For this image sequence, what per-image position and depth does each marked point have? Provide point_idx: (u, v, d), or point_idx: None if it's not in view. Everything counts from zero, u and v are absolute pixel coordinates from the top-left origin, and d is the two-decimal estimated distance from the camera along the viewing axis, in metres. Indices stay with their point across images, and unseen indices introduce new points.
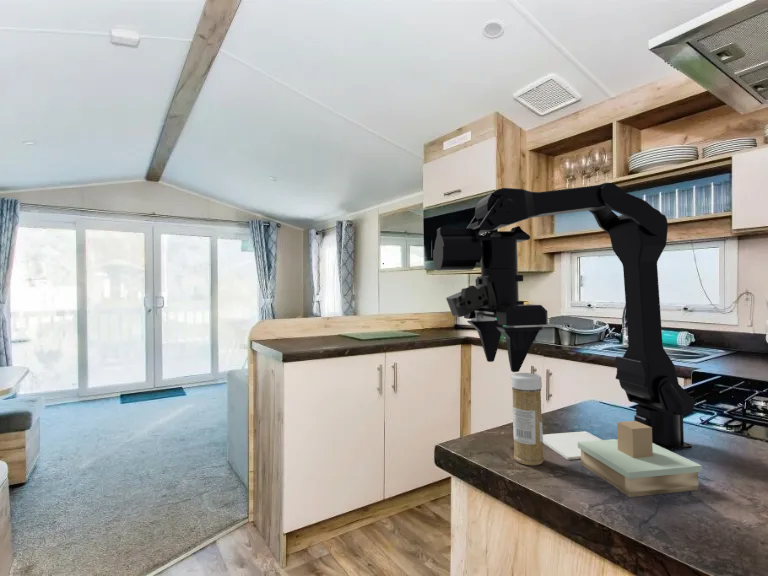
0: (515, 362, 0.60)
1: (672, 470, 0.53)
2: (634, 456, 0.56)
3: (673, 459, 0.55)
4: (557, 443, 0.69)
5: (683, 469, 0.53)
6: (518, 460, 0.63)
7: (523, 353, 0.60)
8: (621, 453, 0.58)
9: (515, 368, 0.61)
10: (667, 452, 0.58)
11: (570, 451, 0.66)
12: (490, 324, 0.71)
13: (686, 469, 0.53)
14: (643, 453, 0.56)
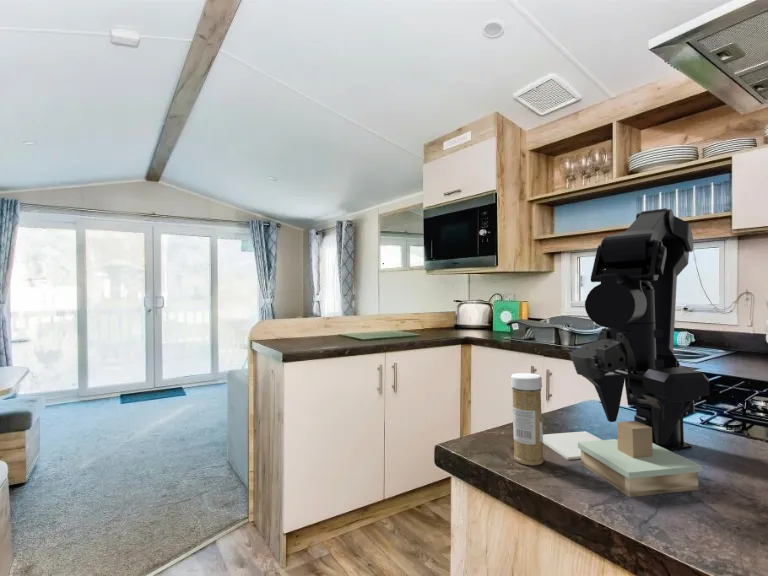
0: (662, 434, 0.53)
1: (672, 470, 0.53)
2: (634, 456, 0.56)
3: (673, 459, 0.55)
4: (557, 443, 0.69)
5: (683, 469, 0.53)
6: (518, 460, 0.63)
7: (672, 423, 0.52)
8: (621, 453, 0.58)
9: (662, 440, 0.53)
10: (667, 452, 0.58)
11: (570, 451, 0.66)
12: (610, 379, 0.63)
13: (686, 469, 0.53)
14: (643, 453, 0.56)
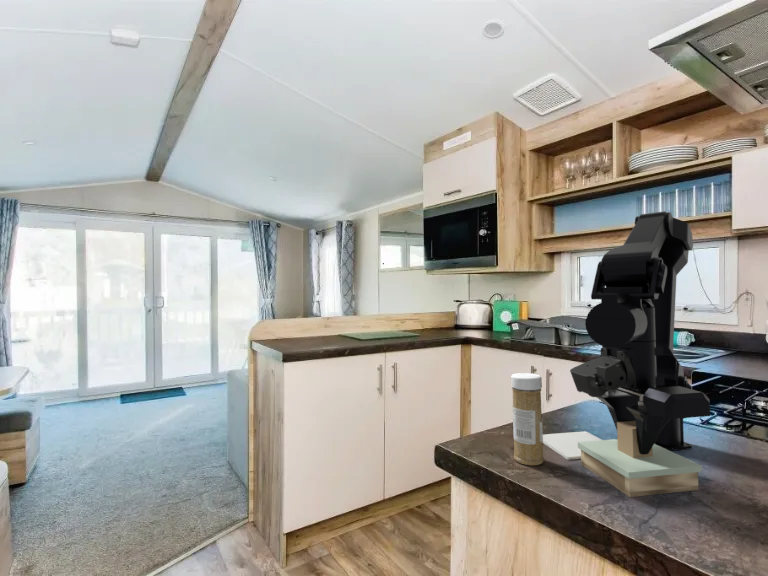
0: (645, 445, 0.55)
1: (672, 470, 0.53)
2: (634, 456, 0.56)
3: (673, 459, 0.55)
4: (557, 443, 0.69)
5: (683, 469, 0.53)
6: (518, 460, 0.63)
7: (655, 435, 0.55)
8: (621, 453, 0.58)
9: (645, 450, 0.56)
10: (667, 452, 0.58)
11: (570, 451, 0.66)
12: (624, 400, 0.60)
13: (686, 469, 0.53)
14: None
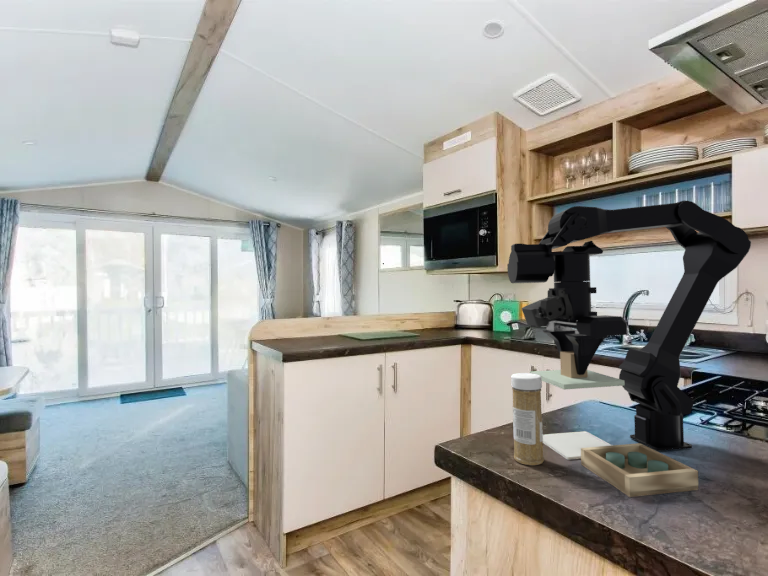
0: (581, 366, 0.68)
1: (600, 383, 0.65)
2: (572, 376, 0.68)
3: (603, 378, 0.67)
4: (557, 443, 0.69)
5: (609, 383, 0.65)
6: (518, 460, 0.63)
7: (589, 358, 0.67)
8: (562, 376, 0.70)
9: (581, 371, 0.68)
10: (600, 375, 0.70)
11: (570, 451, 0.66)
12: (567, 334, 0.72)
13: (611, 383, 0.65)
14: None
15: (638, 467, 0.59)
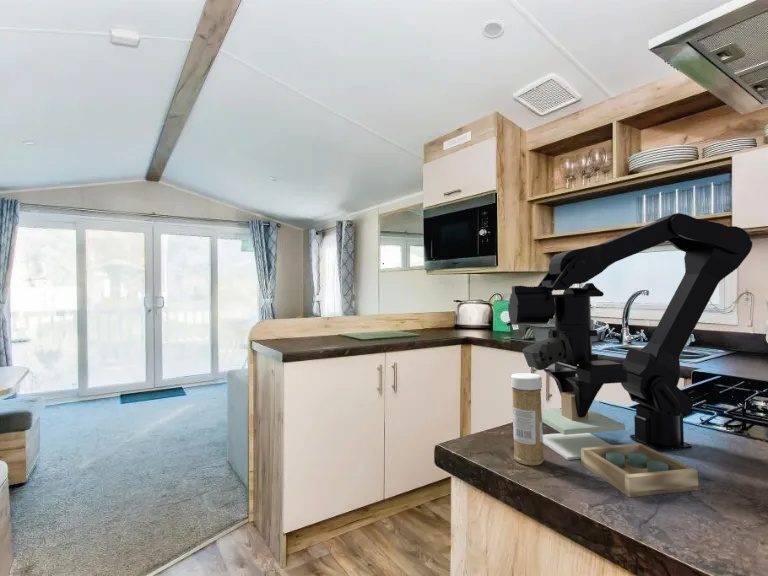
0: (582, 409, 0.68)
1: (600, 428, 0.65)
2: (573, 419, 0.68)
3: (604, 421, 0.68)
4: (557, 443, 0.69)
5: (610, 427, 0.65)
6: (518, 460, 0.63)
7: (589, 401, 0.67)
8: (563, 417, 0.70)
9: (582, 414, 0.68)
10: (601, 416, 0.70)
11: (570, 451, 0.66)
12: (568, 374, 0.72)
13: (612, 427, 0.65)
14: None
15: (638, 467, 0.59)
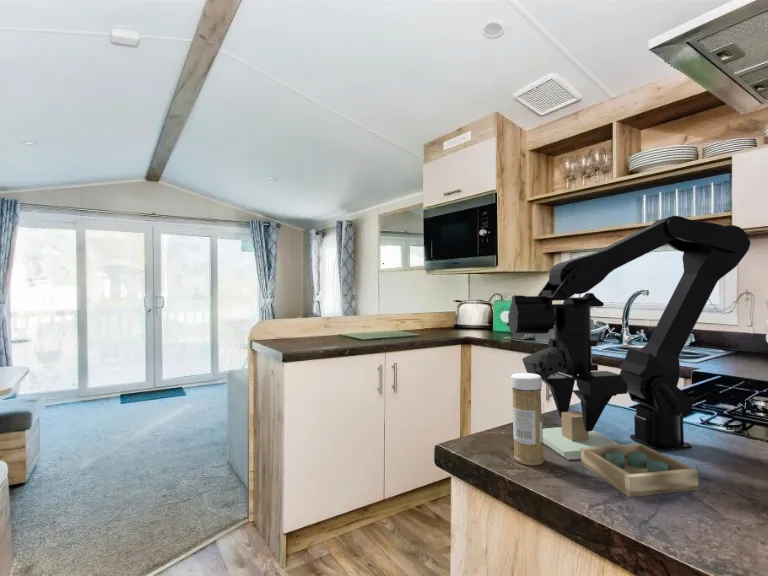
0: (589, 423, 0.66)
1: None
2: (573, 439, 0.68)
3: (604, 442, 0.67)
4: None
5: None
6: (518, 460, 0.63)
7: (597, 415, 0.66)
8: (563, 437, 0.70)
9: (589, 428, 0.66)
10: (601, 437, 0.70)
11: None
12: (562, 381, 0.74)
13: None
14: (580, 437, 0.68)
15: (638, 467, 0.59)
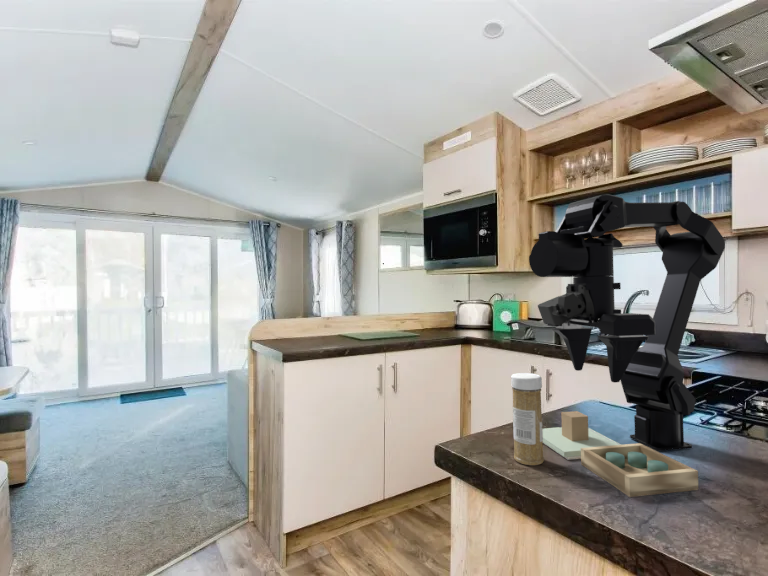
0: (616, 372, 0.59)
1: None
2: (573, 439, 0.68)
3: (604, 442, 0.67)
4: None
5: None
6: (518, 460, 0.63)
7: (625, 363, 0.59)
8: (563, 437, 0.70)
9: (616, 378, 0.59)
10: (601, 437, 0.70)
11: None
12: (577, 332, 0.69)
13: None
14: (580, 437, 0.68)
15: (638, 467, 0.59)
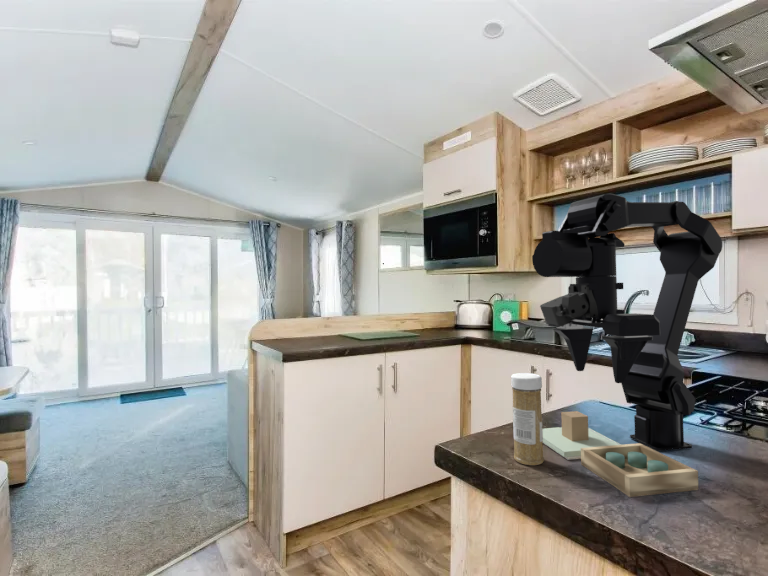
0: (620, 373, 0.58)
1: None
2: (573, 439, 0.68)
3: (604, 442, 0.67)
4: None
5: None
6: (518, 460, 0.63)
7: (629, 364, 0.58)
8: (563, 437, 0.70)
9: (620, 379, 0.59)
10: (601, 437, 0.70)
11: None
12: (579, 332, 0.69)
13: None
14: (580, 437, 0.68)
15: (638, 467, 0.59)
